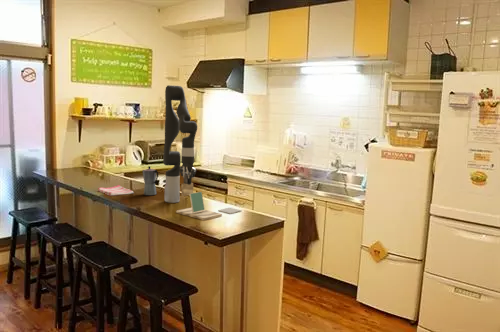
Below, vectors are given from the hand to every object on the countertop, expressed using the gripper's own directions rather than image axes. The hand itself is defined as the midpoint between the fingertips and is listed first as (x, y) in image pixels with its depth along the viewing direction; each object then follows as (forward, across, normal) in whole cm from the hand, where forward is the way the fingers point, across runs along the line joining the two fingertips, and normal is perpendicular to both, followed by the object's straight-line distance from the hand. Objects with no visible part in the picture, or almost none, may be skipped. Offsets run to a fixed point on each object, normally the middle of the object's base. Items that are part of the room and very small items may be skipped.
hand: (187, 183), depth 250 cm
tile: (+10, +8, 0) cm, 13 cm away
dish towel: (+17, -77, +1) cm, 79 cm away
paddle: (+7, 0, 0) cm, 7 cm away
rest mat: (+17, +17, +19) cm, 31 cm away
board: (+17, +10, 0) cm, 19 cm away
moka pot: (+17, -54, +14) cm, 58 cm away
